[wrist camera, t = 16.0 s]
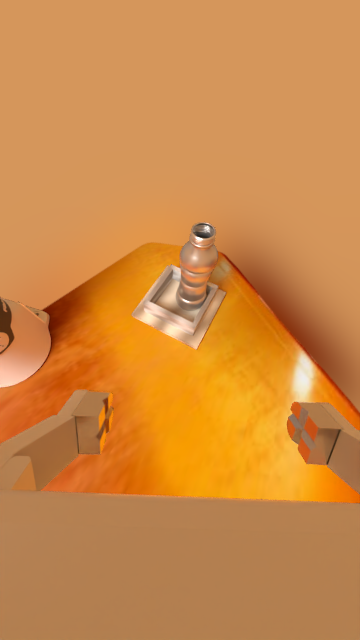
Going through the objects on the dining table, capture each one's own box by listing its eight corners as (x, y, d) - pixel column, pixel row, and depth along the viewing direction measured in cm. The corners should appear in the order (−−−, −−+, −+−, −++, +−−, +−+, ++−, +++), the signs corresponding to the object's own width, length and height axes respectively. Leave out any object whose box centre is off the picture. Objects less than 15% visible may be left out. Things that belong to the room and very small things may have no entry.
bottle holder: (132, 316, 48) (129, 305, 44) (167, 268, 55) (167, 255, 51) (196, 349, 45) (199, 342, 41) (225, 294, 52) (230, 283, 48)
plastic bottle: (170, 296, 50) (173, 222, 32) (195, 286, 52) (212, 211, 34) (182, 319, 47) (193, 252, 30) (209, 308, 49) (234, 238, 31)
